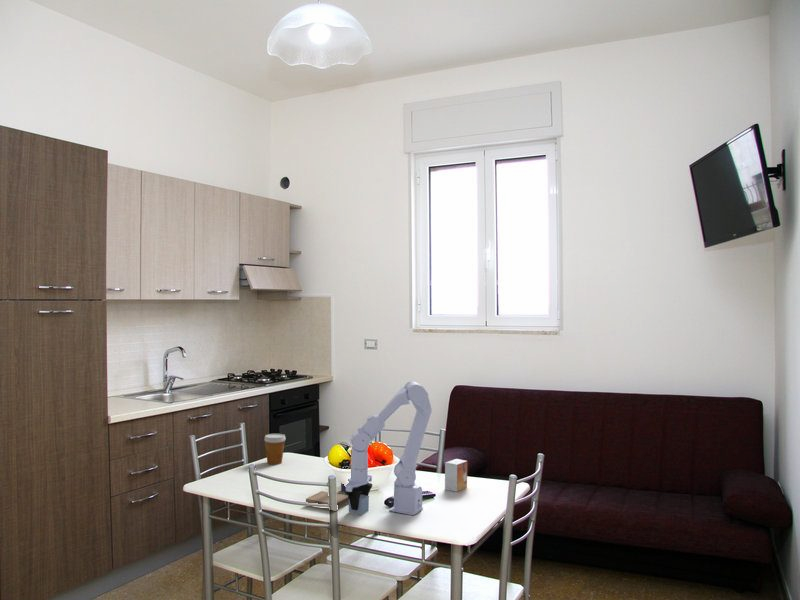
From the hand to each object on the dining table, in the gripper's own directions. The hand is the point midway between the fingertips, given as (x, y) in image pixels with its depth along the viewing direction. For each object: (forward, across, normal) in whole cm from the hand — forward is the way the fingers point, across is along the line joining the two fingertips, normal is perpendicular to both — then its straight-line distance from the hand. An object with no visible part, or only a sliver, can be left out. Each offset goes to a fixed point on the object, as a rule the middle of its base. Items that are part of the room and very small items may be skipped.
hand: (358, 507), depth 211 cm
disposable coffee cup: (+2, -37, -64) cm, 74 cm away
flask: (+2, -17, -13) cm, 21 cm away
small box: (+2, -41, +20) cm, 46 cm away
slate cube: (+1, 0, 0) cm, 1 cm away
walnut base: (+1, -1, -13) cm, 13 cm away
